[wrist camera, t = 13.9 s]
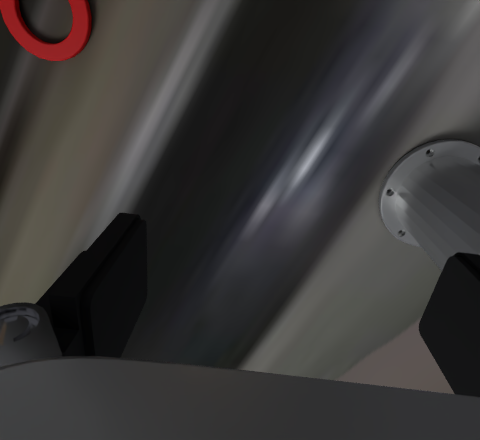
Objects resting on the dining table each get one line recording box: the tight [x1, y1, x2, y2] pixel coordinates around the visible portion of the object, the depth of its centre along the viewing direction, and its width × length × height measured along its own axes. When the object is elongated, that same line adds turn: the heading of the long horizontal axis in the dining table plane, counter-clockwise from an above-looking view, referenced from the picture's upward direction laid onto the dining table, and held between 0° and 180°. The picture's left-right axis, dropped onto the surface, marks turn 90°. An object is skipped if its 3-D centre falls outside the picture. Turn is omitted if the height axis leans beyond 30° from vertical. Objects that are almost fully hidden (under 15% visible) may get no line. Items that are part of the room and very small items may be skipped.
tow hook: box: [0, 0, 92, 61], centre depth 27 cm, size 8×13×9 cm
